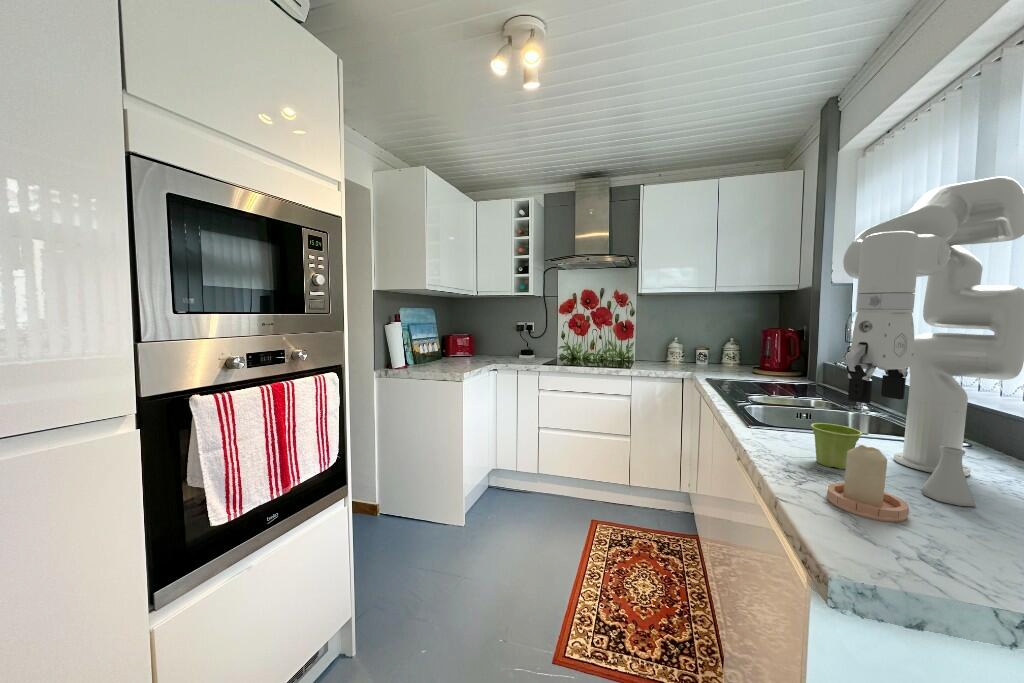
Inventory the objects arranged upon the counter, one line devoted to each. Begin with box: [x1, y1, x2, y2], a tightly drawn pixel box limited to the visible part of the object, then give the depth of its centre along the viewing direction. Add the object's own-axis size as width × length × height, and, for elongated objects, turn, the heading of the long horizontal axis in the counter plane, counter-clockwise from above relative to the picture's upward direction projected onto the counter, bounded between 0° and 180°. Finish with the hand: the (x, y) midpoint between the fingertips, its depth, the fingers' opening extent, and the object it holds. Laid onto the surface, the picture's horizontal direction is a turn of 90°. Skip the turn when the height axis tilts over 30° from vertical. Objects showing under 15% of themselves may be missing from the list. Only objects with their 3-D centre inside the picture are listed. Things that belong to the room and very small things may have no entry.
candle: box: [843, 444, 888, 507], centre depth 74 cm, size 6×6×10 cm
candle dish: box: [826, 482, 910, 523], centre depth 74 cm, size 11×11×2 cm
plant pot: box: [810, 422, 863, 470], centre depth 95 cm, size 9×9×9 cm
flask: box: [920, 446, 977, 507], centre depth 78 cm, size 7×7×10 cm
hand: (876, 399), depth 73 cm, fingers open, 9 cm apart
